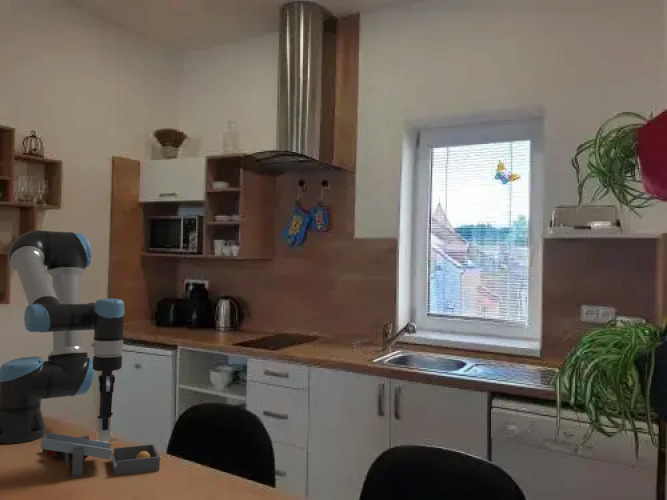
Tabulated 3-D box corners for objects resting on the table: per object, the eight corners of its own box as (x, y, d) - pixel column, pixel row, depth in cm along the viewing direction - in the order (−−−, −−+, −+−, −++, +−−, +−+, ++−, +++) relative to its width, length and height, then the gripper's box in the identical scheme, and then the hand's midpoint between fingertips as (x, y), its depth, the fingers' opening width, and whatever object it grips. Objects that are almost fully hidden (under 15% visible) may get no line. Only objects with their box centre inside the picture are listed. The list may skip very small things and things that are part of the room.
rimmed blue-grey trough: (42, 434, 150) (45, 425, 150) (106, 444, 157) (109, 436, 157) (40, 448, 139) (43, 439, 139) (109, 459, 146) (112, 450, 146)
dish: (111, 460, 154) (111, 448, 154) (153, 456, 159) (154, 444, 159) (114, 475, 144) (114, 461, 144) (159, 470, 149) (159, 457, 149)
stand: (70, 466, 148) (71, 439, 149) (82, 465, 150) (84, 438, 150) (70, 478, 141) (71, 449, 141) (83, 477, 142) (84, 448, 142)
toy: (36, 464, 156) (66, 466, 148) (35, 441, 157) (65, 441, 149) (66, 456, 163) (96, 457, 155) (65, 434, 164) (95, 434, 156)
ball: (136, 449, 153) (150, 449, 155) (134, 462, 153) (148, 462, 154) (138, 453, 150) (152, 453, 151) (136, 467, 150) (149, 467, 151)
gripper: (92, 351, 159) (88, 435, 159) (94, 359, 147) (90, 449, 147) (120, 350, 162) (116, 432, 162) (124, 358, 151) (120, 446, 150)
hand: (104, 440), depth 154 cm, fingers closed
